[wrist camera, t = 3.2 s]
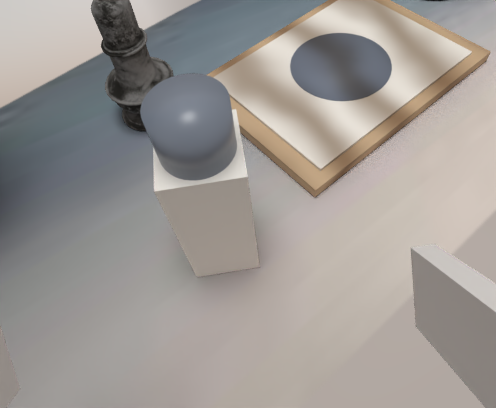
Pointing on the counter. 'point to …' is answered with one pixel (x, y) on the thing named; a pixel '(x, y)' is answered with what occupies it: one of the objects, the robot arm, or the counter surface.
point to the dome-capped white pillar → (201, 172)
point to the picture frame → (342, 84)
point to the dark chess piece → (127, 58)
